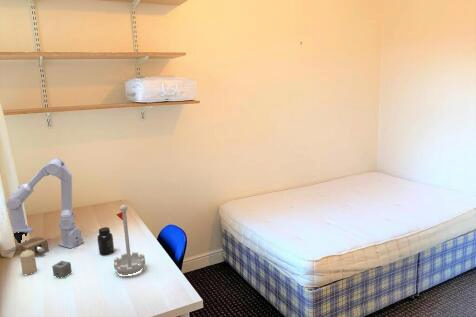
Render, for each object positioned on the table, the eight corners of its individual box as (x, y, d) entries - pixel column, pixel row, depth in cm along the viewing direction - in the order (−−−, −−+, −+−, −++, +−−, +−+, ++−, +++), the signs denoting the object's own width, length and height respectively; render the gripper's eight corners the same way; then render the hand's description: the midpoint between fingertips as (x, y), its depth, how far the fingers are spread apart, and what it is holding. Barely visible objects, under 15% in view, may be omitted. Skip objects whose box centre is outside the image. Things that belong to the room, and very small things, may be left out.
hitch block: (49, 250, 184) (47, 239, 183) (29, 259, 175) (27, 247, 174) (38, 247, 188) (36, 236, 186) (19, 256, 179) (17, 244, 178)
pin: (47, 252, 180) (46, 243, 179) (38, 257, 176) (37, 247, 175) (32, 247, 186) (30, 238, 185) (22, 251, 182) (21, 242, 181)
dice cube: (63, 271, 164) (61, 260, 163) (71, 272, 162) (70, 262, 161) (53, 276, 160) (52, 266, 159) (62, 278, 158) (61, 267, 157)
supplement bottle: (114, 248, 184) (111, 225, 182) (114, 254, 178) (111, 230, 176) (99, 250, 182) (96, 227, 180) (99, 256, 176) (96, 233, 173)
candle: (21, 276, 161) (17, 254, 159) (24, 269, 166) (21, 249, 164) (35, 273, 162) (31, 252, 160) (38, 267, 168) (34, 247, 165)
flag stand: (152, 267, 165) (146, 202, 158) (129, 281, 154) (122, 212, 147) (130, 260, 171) (124, 198, 165) (108, 273, 160) (100, 207, 154)
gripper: (36, 217, 184) (40, 243, 187) (12, 215, 188) (16, 240, 191) (25, 223, 177) (29, 249, 180) (0, 221, 181) (5, 246, 184)
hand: (22, 245), depth 185 cm, fingers closed
